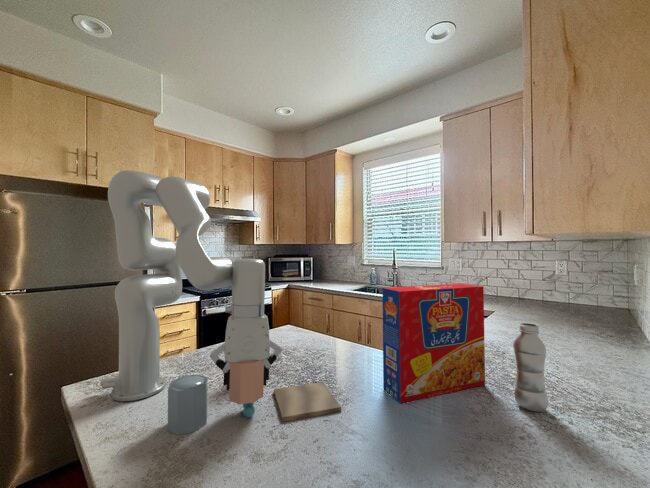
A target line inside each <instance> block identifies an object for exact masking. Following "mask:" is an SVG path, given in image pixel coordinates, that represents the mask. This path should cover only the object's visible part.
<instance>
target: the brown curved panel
mask: <svg viewBox="0 0 650 488" xmlns="http://www.w3.org/2000/svg"><path fill="white" fill-rule="evenodd" d="M273 395H274V398H275V402H276V405H277V409H278V411H279V414H280V418H281V421H282V423H283V422H290V421H294V420H299V419H306V418H311V417H317V416H322V415H327V414H334V413H337V412H339V413H340V412H342V406H341V405H340V403H339V402H338V400H337V399H336V397H335V396H334V395H333V393H332V392H331V391H330V389H329V388H328V386H327V385H326V383H325V382H323V381H322V382H321V381H320V382H314V383H308V384H301V385H300V384H299V385H293V386H288V387H287V386H286V387H280V388H274V389H273Z"/></svg>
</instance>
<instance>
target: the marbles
mask: <svg viewBox="0 0 650 488" xmlns="http://www.w3.org/2000/svg"><path fill="white" fill-rule="evenodd" d="M254 406H255V402H254V403H247V404H242V407H243V410H242V412H243V416H245V417H246V418H251V417H252V416H254V414H255V412H256V408H255V407H254Z"/></svg>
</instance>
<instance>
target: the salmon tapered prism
mask: <svg viewBox="0 0 650 488" xmlns="http://www.w3.org/2000/svg"><path fill="white" fill-rule="evenodd" d="M229 369H230V389H229V390H228V391H229V392H228V393H229V394H228V395H229V396H228V397H229V398H228V399H229V401H228V402H232V403H235V404H237V405H243V404H247V403H254V404H255V403H256V402H257V401H259V400H260V399H261V398H263V397H264V360H256V361H246V362H235V363H230V368H229Z"/></svg>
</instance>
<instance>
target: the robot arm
mask: <svg viewBox="0 0 650 488" xmlns="http://www.w3.org/2000/svg"><path fill="white" fill-rule="evenodd" d="M108 184H109V185H108V186H107V187H108V190H107V201H108V203H109V207H110V211H111V214H112V217H113V220H114V228H115V229H114V230H115V237H116V238H115V240H116V241H115V242H116V248H117V257H118V262H119V264H120V267H122V268H123V269H124V270H127V271H148V270H149V271H151V270H153V273H148V274H136V275H131V276H128V277H125V278H124V279H122V280H121V281H119V283H117V285H116V287H115V289H114V300H115V304H116V307H117V314H118V375H116V376H114V377H105V378H102V379H101V380H100V382H99V384H100V387H101V389H102V390H103V389H112V390H111V391H110V392H111V393H110V396H111V399H113V400H115V401H117V402H133V401H138V400H142V399H145V398H149V397H151V396H152V397H153V396H154V395H156V394H157V393H159V392H161V391H162V390H163V389H165V387H166V382H167V381H166V379H165V378H163V377H162V376H160V366H161V365H160V364H161V363H160V356H161V355H160V351H161V350H160V346H161V343H160V342H161V338H160V337H161V335H160V334H161V327H160V326H161V325H160V320H159V317H158V316H157V314H156V312H155V311H154V310H153V308H156V307H161V306H165V305H166V306H167V305H169V304H170V305H171V304H173V303H175V302H177V301H178V300H179V299H180V298H181V295H182V292H183V280H182V279H183V278H182V273H183V274H184V276H185V277H186V279H187V280H188V282H189V283H190V284H191V285H192V286H193V287H195V288H196V289H198V290H200V291H211V290H217V289H221V288H222V289H223V288H228V287H229V288H230V287H231V304H230V305H229V306H224V307H225V308H224V309H225V310H224V312H225V313H228V314H230V316H228V319H227V323H226V328H225V337H224V338H225V339H224V342H222V344H220V345H219V346H218V347H217V348H215V349H214V350H213V351H211V353H210V355H209V358H210V359H211V360H212V362H214V364H215V365H216V367H218V368H219V369H220V370H221V371H222V372H223V386H226V391H229V389H230V363H235V362H246V361H256V360H264V386H265V387H266V386H267V381H269V380H270V368H271V367H272V365H273V364H274V362H276V360H277V359H278V358H279V356H280V354H281V353H282V351H283V349H282V346H280V345H279V344H277V343H276V342H274V341H272V340H271V339H270V325H269V318H268V315H266V314H265V291H266V290H265V289H266V263H265V261H264V260H263V259H260V258H240V257H239V258H238V257H234V256H214V257H211V256H210V257H209V256H208V254H207V253H206V251H205V250H204V248H203V245H202V244H201V241H200V239H199V238H200V237H201V236H202V235H204V234H205V233H206V232H207V231H208V230H209V229H210V227H211V224H212V219H211V217H210V215H209V214H208V213H207V211H206V210H207V209H208V207H209V206H210V203H211V195H210V193H209V191H208V188H207V187H206V186H204V185H203V184H201V183H199V182H197V181H193V180H189V179H186V178H182V177H179V176H166V177H161V176H157V175H155V174H151V173H146V172H144V171H138V170H131V169H129V170H128V169H126V170H120V171H118V172H116V174H114V175H113V177H112V178H111V180H110V182H109V183H108ZM141 204H145V205H149V206H156V207H161V208H163V210H164V211H165V212H166V215H167V216H168V217H169V219H170V221H171V222H172V224H173V227H174V229H176V231H177V234H178V235H177V238H176V241H175V243H174V242H173V241H172V240H170V239H168V238H165V237H154V236H153V232H152V223H151V220H150V218H149V216H148V214H147V212H146V211H145V210H144V208H143V207H142V206H141ZM270 349H272V350H273V352H272V353H271V355H270V352H271V351H270ZM223 352H224V360H223V359H221V358H220V356H219V355H221V354H222V353H223ZM264 386H263V387H264Z"/></svg>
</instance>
